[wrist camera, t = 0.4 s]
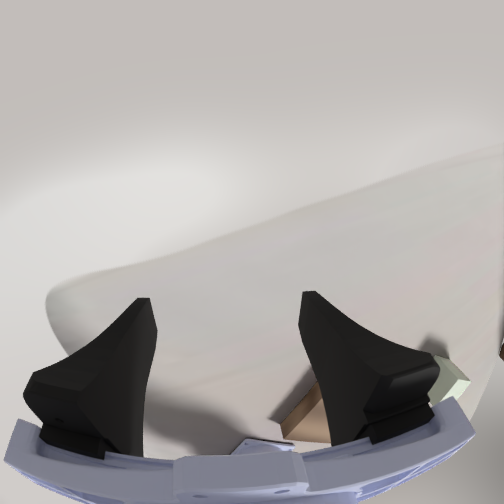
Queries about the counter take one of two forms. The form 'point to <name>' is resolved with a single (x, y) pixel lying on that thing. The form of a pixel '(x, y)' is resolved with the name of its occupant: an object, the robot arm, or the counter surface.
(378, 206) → the counter surface
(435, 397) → the sage block
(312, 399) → the walnut block
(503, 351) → the beer bottle
